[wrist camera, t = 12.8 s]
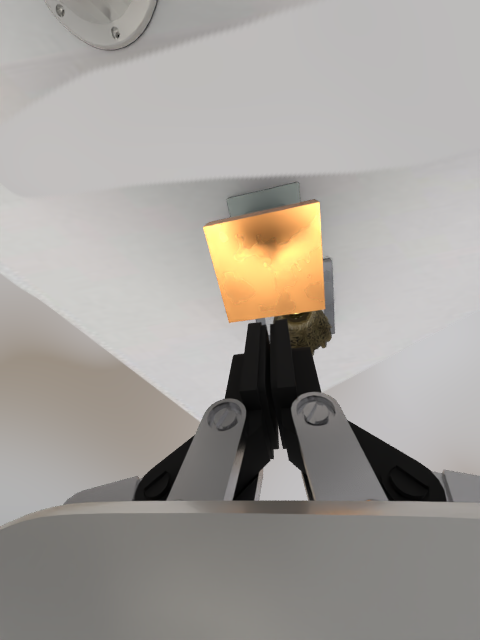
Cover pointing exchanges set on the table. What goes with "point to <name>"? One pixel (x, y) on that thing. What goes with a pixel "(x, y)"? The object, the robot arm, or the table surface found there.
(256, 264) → the handle
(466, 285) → the table surface
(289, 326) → the wire cup brush
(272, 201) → the press stand
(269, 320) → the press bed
